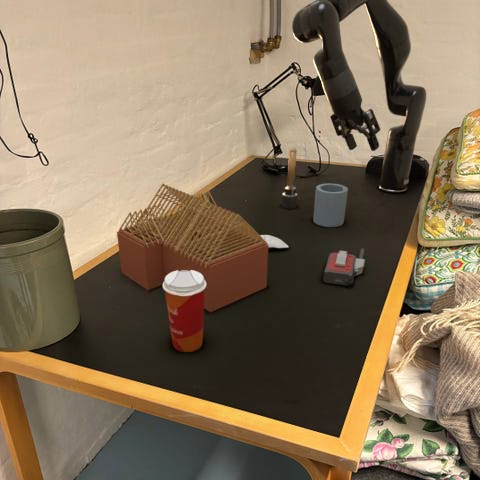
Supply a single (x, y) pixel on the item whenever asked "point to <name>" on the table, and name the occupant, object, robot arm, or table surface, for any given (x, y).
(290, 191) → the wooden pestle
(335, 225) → the jar
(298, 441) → the table surface
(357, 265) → the walkie-talkie
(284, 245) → the pincushion
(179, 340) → the paper cup
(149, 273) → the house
